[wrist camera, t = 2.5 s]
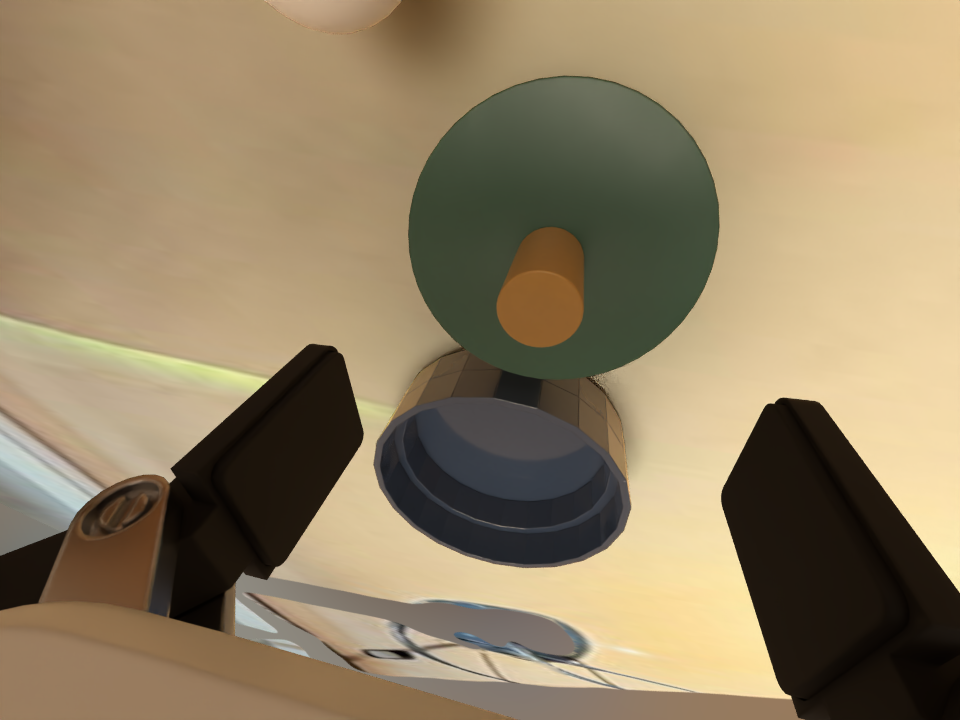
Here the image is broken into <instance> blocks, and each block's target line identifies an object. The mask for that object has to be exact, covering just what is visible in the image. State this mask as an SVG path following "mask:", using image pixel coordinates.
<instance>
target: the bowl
mask: <svg viewBox="0 0 960 720" xmlns="http://www.w3.org/2000/svg"><path fill="white" fill-rule="evenodd" d="M374 468H375V472H376V476H377V480H378V483H379V487H380V489H381V490H382V492H383V493H384V495H385V496H386V498H387V499H388V501H389V503H390V504H391V506H392V507H393V508H394V509H395V510H396V511H397V512H398V513H399V514H400V515H401V516H402V517H403V518H404V519H405V520H406V521H407V522H408V523H409V524H410V525H411V526H412V527H413V528H415V529H416V530H418V531H420V532H421V533H423V534H424V535H426V536H427V537H429V538H430V539H432V540H433V541H435V542H436V543H438V544H440V545H443V546H445V547H447V548H449V549H451V550H454V551H456V552H458V553H460V554H463V555H465V556H468V557H472V558H475V559H479V560H482V561H486V562H489V563H493V564H494V563H495V564H498V565H506V566H514V567H521V568H541V567H558V566H562V565H567V564H571V563H575V562H580V561H584V560H586V559H588V558H590V557H592V556H594V555H595V554H597V553H599V552H601V551H603V550H605V549H607V548H608V547H609V546H610V545H611V544H612V543H613V542H614V541H615V540H616V539H617V538H618V537H619V535H620V534H621V533H622V532H623V531H624V529H625V526H626V523H627V520H628V516H629V513H630V510H631V499H630V490H629V481H628V472H627V462H626V453H625V444H624V438H623V432H622V426H621V420H620V418H619V417H618V415H617V413H616V412H615V410H614V408H613V407H612V405H611V403H610V402H609V400H608V398H607V397H606V395H605V394H604V393H603V392H602V391H601V390H600V389H599V388H598V387H596V386H595V385H594V384H593V383H592V382H591V381H590V380H588V379H587V378H586V377H583V378H576V379H562V380H553V379H539V378H533V377H526V376H522V375H518V374H515V373H511V372H508V371H505V370H503V369H500V368H497V367H495V366H493V365H491V364H489V363H487V362H485V361H483V360H481V359H479V358H478V357H476V356H475V355H473V354H472V353H470V352H469V351H467V350H464V351H460V352H457V353H454V354H450V355H447V356H444V357H441V358H439V359H438V360H437V361H435V362H434V363H432V364H431V365H429V366H428V367H426V368H425V369H424V370H422V371H421V372H419V374H418V375H417V377H416V378H415V380H414V381H413V382H412V384H411V385H410V387H409V388H408V390H407V391H406V393H405V395H404V396H403V398H402V400H401V401H400V403H399V405H398V406H397V408H396V410H395V412H394V413H393V415H392V417H391V418H390V420H389V422H388V423H387V425H386V427H385V428H384V430H383V432H382V434H381V435H380V437H379V439H378V440H377V443H376V450H375V457H374Z"/></svg>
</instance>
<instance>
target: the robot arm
mask: <svg viewBox="0 0 960 720" xmlns="http://www.w3.org/2000/svg"><path fill="white" fill-rule="evenodd" d="M363 434H364V433H363V428H362V424H361V420H360V417H359V413H358V409H357V405H356V402H355V398H354V394H353V391H352V387H351V383H350V379H349V376H348V372H347V368H346V364H345V361H344V358H343V355H342V354H341V353H338V351H337V349H336V348H335V347H333V346H326V345H317V344H309V345H308V346H306V347H305V348H304V349H303V350H302V351H301V352H300V353H298V354H297V355H296V356H295V357H294V358H293V359H292V360H291V361H290V362H288V363H287V364H286V365H285V366H284V367H283V368H282V369H281V370H280V371H278V372H277V373H276V374H275V375H274V376H273V377H272V378H271V379H270V380H268V381H267V382H266V383H265V384H264V385H263V386H262V387H261V388H260V389H258V390H257V391H256V392H255V393H254V394H253V395H252V396H251V397H250V398H248V399H247V400H246V401H245V402H244V403H243V404H242V405H241V406H240V407H238V408H237V409H236V410H235V411H234V412H233V413H232V414H231V415H230V416H228V417H227V418H226V419H225V420H224V421H223V422H222V423H221V424H220V425H218V426H217V427H216V428H215V429H214V430H213V431H212V432H211V433H210V434H208V435H207V436H206V437H205V438H204V439H203V440H202V441H201V442H200V443H198V444H197V445H196V446H195V447H194V448H193V449H192V450H191V451H190V452H188V453H187V454H186V455H185V456H184V457H183V458H182V459H181V460H180V461H178V462H177V463H176V464H175V465H174V466H173V467H172V468H171V470H172V472H173V473H174V475H175V476H176V478H175V479H174V480H173V481H172V482H171V483H170V484H169V483H168V482H167V480H166V479H165V478H164V477H161V476H158V475H141V476H136V477H132V478H129V479H126V480H124V481H121V482H119V483H116V484H114V485H112V486H111V487H109V488H107V489H105V490H103V491H102V492H100V493H99V494H98V495H96V496H95V497H94V498H92V499H91V500H90V501H88V502H87V503H86V504H85V505H84V506H83V507H82V508H81V509H80V510H79V511H78V512H77V514H76V515H75V517H74V519H73V520H72V522H71V524H70V526H69V528H68V530H66V531H64V532H61V533H59V534H56V535H53V536H51V537H48V538H46V539H43V540H41V541H38V542H35V543H33V544H30V545H27V546H25V547H22V548H20V549H17V550H14V551H12V552H9V553H7V554H5V555H2V556H0V720H517V719H514V718H511V717H508V716H504V715H501V714H497V713H494V712H491V711H487V710H484V709H481V708H477V707H474V706H470V705H467V704H464V703H460V702H457V701H454V700H451V699H447V698H444V697H440V696H437V695H434V694H430V693H427V692H424V691H420V690H417V689H413V688H410V687H407V686H403V685H400V684H397V683H393V682H390V681H386V680H383V679H380V678H377V677H373V676H370V675H366V674H363V673H360V672H356V671H353V670H350V669H346V668H343V667H339V666H336V665H332V664H329V663H326V662H322V661H319V660H315V659H312V658H309V657H305V656H302V655H298V654H295V653H291V652H288V651H285V650H281V649H278V648H274V647H271V646H268V645H264V644H261V643H257V642H254V641H250V640H247V639H244V638H240V637H237V636H235V584H236V581H237V580H238V578H239V577H240V575H241V574H242V573H243V572H244V573H245V574H246V575H249V576H253V577H257V578H261V579H265V580H267V579H268V578H269V576H270V575H271V573H272V572H273V570H274V569H275V567H278V566H280V565H282V564H283V563H284V562H285V560H286V559H287V558H288V556H289V555H290V553H291V552H292V550H293V549H294V547H295V545H296V544H297V542H298V541H299V539H300V538H301V536H302V535H303V533H304V532H305V530H306V529H307V527H308V525H309V524H310V522H311V521H312V519H313V518H314V516H315V515H316V513H317V512H318V510H319V508H320V507H321V505H322V504H323V502H324V501H325V499H326V498H327V496H328V495H329V493H330V492H331V490H332V488H333V487H334V485H335V484H336V482H337V481H338V479H339V478H340V476H341V475H342V473H343V472H344V470H345V468H346V467H347V465H348V464H349V462H350V461H351V459H352V458H353V456H354V455H355V453H356V451H357V450H358V448H359V447H360V445H361V443H362V440H363ZM721 502H722V507H723V510H724V514H725V517H726V520H727V523H728V526H729V529H730V533H731V536H732V539H733V542H734V545H735V549H736V552H737V555H738V558H739V561H740V564H741V568H742V571H743V574H744V577H745V580H746V584H747V587H748V590H749V593H750V596H751V599H752V603H753V606H754V609H755V612H756V615H757V618H758V622H759V625H760V628H761V631H762V634H763V638H764V641H765V644H766V647H767V650H768V653H769V657H770V660H771V663H772V666H773V669H774V672H775V676H776V679H777V681H778V684H779V686H780V687H781V689H782V690H783V691H784V693H785V694H788V695H791V697H792V700H793V703H794V706H795V709H796V712H797V716H798V718H801V719H805V720H960V593H959V591H958V590H957V589H956V587H955V586H954V584H953V583H952V582H951V580H950V579H949V578H948V576H947V575H946V574H945V572H944V571H943V569H942V568H941V567H940V565H939V564H938V563H937V561H936V560H935V559H934V557H933V556H932V554H931V553H930V552H929V550H928V549H927V548H926V546H925V545H924V544H923V542H922V541H921V539H920V538H919V537H918V535H917V534H916V533H915V531H914V530H913V529H912V527H911V526H910V524H909V523H908V522H907V520H906V519H905V518H904V516H903V515H902V514H901V512H900V511H899V509H898V508H897V507H896V505H895V504H894V503H893V501H892V500H891V499H890V497H889V496H888V494H887V493H886V492H885V490H884V489H883V488H882V486H881V485H880V483H879V482H878V481H877V479H876V478H875V477H874V475H873V474H872V473H871V471H870V470H869V468H868V467H867V466H866V464H865V463H864V462H863V460H862V459H861V458H860V456H859V455H858V453H857V452H856V451H855V449H854V448H853V447H852V445H851V444H850V443H849V441H848V440H847V438H846V437H845V436H844V434H843V433H842V432H841V430H840V429H839V428H838V426H837V425H836V423H835V422H834V421H833V419H832V418H831V417H830V415H829V414H828V413H827V411H826V410H825V408H824V407H823V406H822V405H821V404H820V403H818V402H816V401H809V400H800V399H791V398H780V399H778V400H777V401H776V402H775V404H768V405H766V406H765V408H764V409H763V411H762V413H761V415H760V417H759V419H758V421H757V423H756V425H755V427H754V429H753V431H752V433H751V434H750V436H749V438H748V440H747V442H746V444H745V446H744V448H743V450H742V452H741V454H740V456H739V458H738V460H737V462H736V464H735V466H734V468H733V470H732V472H731V473H730V475H729V477H728V479H727V481H726V483H725V485H724V487H723V490H722V494H721Z"/></svg>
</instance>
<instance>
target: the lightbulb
mask: <svg viewBox="0 0 960 720" xmlns="http://www.w3.org/2000/svg"><path fill="white" fill-rule="evenodd" d="M264 1H266V2H267V3H268V4H269V5H271V6H272V7H273V8H274V9H276V10H277V11H278V12H279V13H281V14H283V15H284V16H286V17H287V18H289V19H291V20H293V21H295V22H296V23H298V24H300V25H302V26H304V27H306V28H310V29H314V30H317V31H321V32H326V33H330V34H351V33H354V32H357V31H361V30H364V29H367V28H369V27H371V26H374V25H375V24H377V23H378V22H380V21H381V20H383V19H385V18H386V17H388V16H389V15H390V14H391V12H392V11H393V10H394V9H395V8H396V7H397V6H398V5H399V4H400V3H401V1H402V0H264Z"/></svg>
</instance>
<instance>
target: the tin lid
mask: <svg viewBox="0 0 960 720" xmlns="http://www.w3.org/2000/svg"><path fill="white" fill-rule="evenodd" d="M718 236H719V204H718V199H717V194H716V189H715V184H714V180H713V177H712V175H711V172H710V170H709V167H708V164H707V162H706V159H705V157H704V156H703V154H702V152H701V150H700V149H699V147H698V145H697V144H696V142H695V140H694V139H693V137H692V136H691V135H690V134H689V133H688V131H687V130H686V129H685V128H684V126H683V125H682V124H681V123H680V122H679V120H677V119H676V118H675V117H674V116H673V115H672V114H671V113H669V112H668V111H667V110H666V109H665V108H664V107H662V106H661V105H660V104H659V103H657V102H655V101H654V100H652V99H650V98H649V97H647V96H645V95H644V94H642V93H640V92H639V91H636V90H634V89H631V88H629V87H626V86H623V85H621V84H618V83H616V82H612V81H607V80H602V79H598V78H593V77H582V76H557V77H549V78H540V79H536V80H532V81H529V82H525V83H521V84H518V85H515V86H512V87H510V88H508V89H506V90H503V91H501V92H499V93H497V94H494V95H492V96H491V97H489V98H488V99H486V100H485V101H483V102H481V103H480V104H478V105H477V106H475V107H474V108H472V109H471V110H470V111H469V112H467V113H466V114H465V115H464V116H463V117H462V118H461V119H459V120H458V121H457V122H456V123H455V124H454V125H453V126H452V127H451V128H450V130H449V131H448V132H447V133H446V134H445V135H444V136H443V138H442V139H441V140H440V141H439V143H438V144H437V146H436V147H435V149H434V150H433V152H432V153H431V155H430V156H429V158H428V160H427V162H426V164H425V166H424V168H423V170H422V172H421V174H420V177H419V179H418V182H417V185H416V188H415V192H414V195H413V199H412V204H411V209H410V215H409V230H408V238H409V253H410V258H411V263H412V268H413V272H414V275H415V278H416V282H417V285H418V287H419V290H420V292H421V294H422V296H423V298H424V301H425V302H426V304H427V306H428V307H429V309H430V311H431V312H432V314H433V316H434V317H435V318H436V320H437V321H438V322H439V323H440V325H441V326H442V327H443V329H444V330H445V331H446V332H447V333H448V334H449V335H450V336H451V337H452V338H453V339H454V340H455V341H456V342H458V343H459V344H460V345H461V346H462V347H464V348H465V349H466V350H467V351H469V352H470V353H472V354H473V355H475V356H476V357H478V358H479V359H481V360H483V361H485V362H487V363H489V364H491V365H493V366H495V367H497V368H500V369H503V370H505V371H508V372H511V373H515V374H518V375H522V376H526V377H533V378H539V379H553V380H562V379H576V378H583V377H590V376H594V375H598V374H601V373H605V372H608V371H611V370H614V369H616V368H619V367H622V366H624V365H626V364H628V363H630V362H632V361H634V360H636V359H638V358H640V357H641V356H643V355H644V354H646V353H647V352H649V351H650V350H652V349H653V348H655V347H656V346H657V345H658V344H660V343H661V342H662V341H663V340H664V339H666V338H667V337H668V336H669V335H670V334H671V333H672V332H673V331H674V330H675V329H676V328H677V327H678V326H679V325H680V324H681V323H682V321H683V320H684V319H685V317H686V316H687V315H688V313H689V312H690V311H691V309H692V308H693V307H694V305H695V303H696V302H697V300H698V298H699V296H700V295H701V293H702V291H703V289H704V287H705V285H706V282H707V280H708V277H709V275H710V272H711V270H712V267H713V263H714V259H715V255H716V251H717V245H718Z"/></svg>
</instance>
